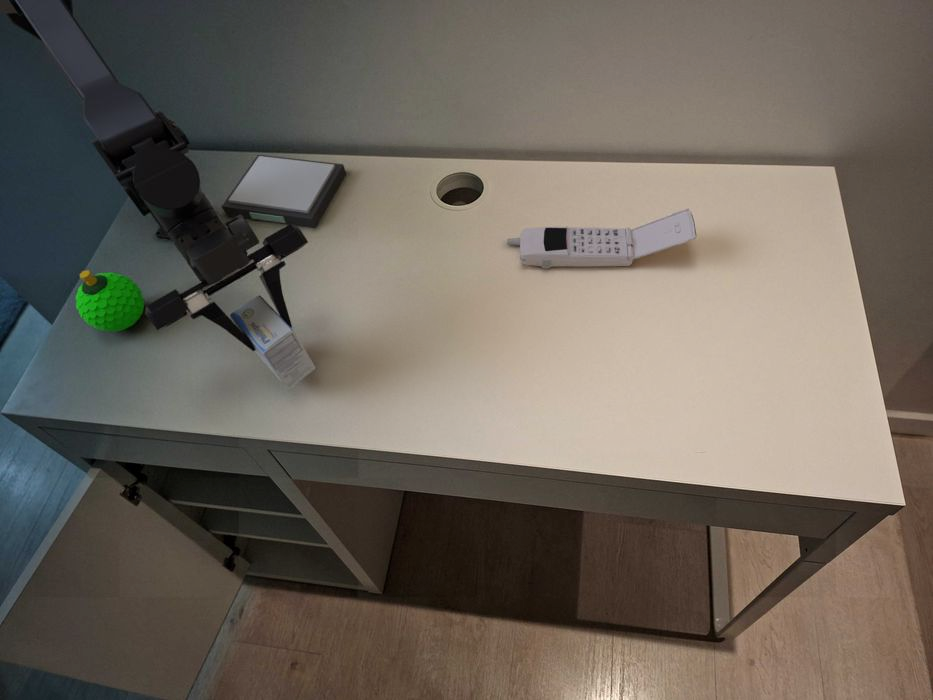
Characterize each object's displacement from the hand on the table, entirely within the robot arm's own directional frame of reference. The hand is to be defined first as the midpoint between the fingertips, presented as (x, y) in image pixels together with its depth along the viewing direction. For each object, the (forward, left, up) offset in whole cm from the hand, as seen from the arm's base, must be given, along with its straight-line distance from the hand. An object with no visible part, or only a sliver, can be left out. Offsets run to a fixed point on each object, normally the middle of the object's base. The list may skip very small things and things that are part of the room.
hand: (272, 339), depth 70 cm
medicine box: (-1, +1, -7) cm, 7 cm away
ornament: (-29, +4, -9) cm, 31 cm away
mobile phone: (+34, +29, -9) cm, 45 cm away
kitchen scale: (-17, +33, -9) cm, 38 cm away
